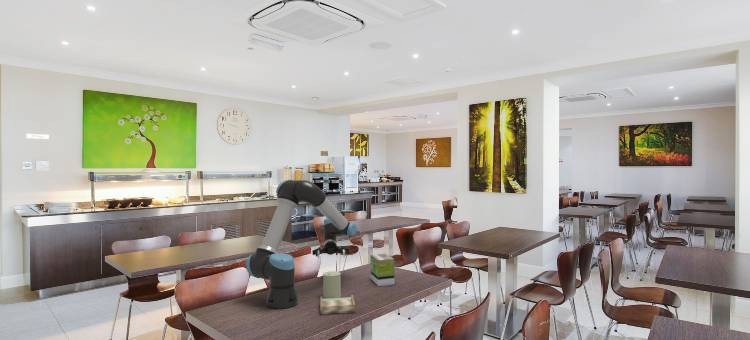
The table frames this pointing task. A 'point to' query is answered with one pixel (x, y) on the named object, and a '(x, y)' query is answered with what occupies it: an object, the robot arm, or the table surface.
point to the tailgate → (336, 299)
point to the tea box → (382, 269)
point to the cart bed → (337, 306)
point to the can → (332, 284)
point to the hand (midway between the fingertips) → (331, 255)
